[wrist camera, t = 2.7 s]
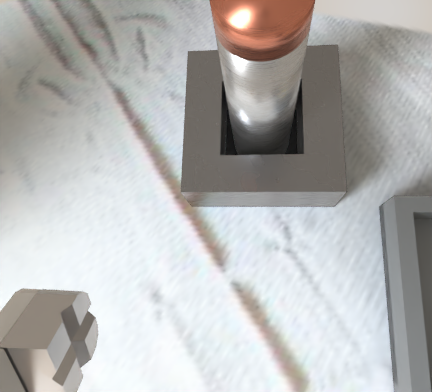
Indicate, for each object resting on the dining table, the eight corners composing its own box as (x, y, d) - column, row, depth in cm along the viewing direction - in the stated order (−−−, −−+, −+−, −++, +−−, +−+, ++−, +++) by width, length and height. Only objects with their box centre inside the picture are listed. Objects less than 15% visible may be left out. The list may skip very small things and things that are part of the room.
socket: (191, 206, 28) (180, 192, 24) (197, 82, 30) (188, 51, 26) (334, 206, 27) (346, 191, 23) (327, 77, 29) (337, 44, 25)
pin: (234, 166, 28) (205, 31, 14) (234, 116, 29) (209, -59, 15) (289, 166, 28) (320, 24, 13) (288, 115, 29) (316, -68, 14)
